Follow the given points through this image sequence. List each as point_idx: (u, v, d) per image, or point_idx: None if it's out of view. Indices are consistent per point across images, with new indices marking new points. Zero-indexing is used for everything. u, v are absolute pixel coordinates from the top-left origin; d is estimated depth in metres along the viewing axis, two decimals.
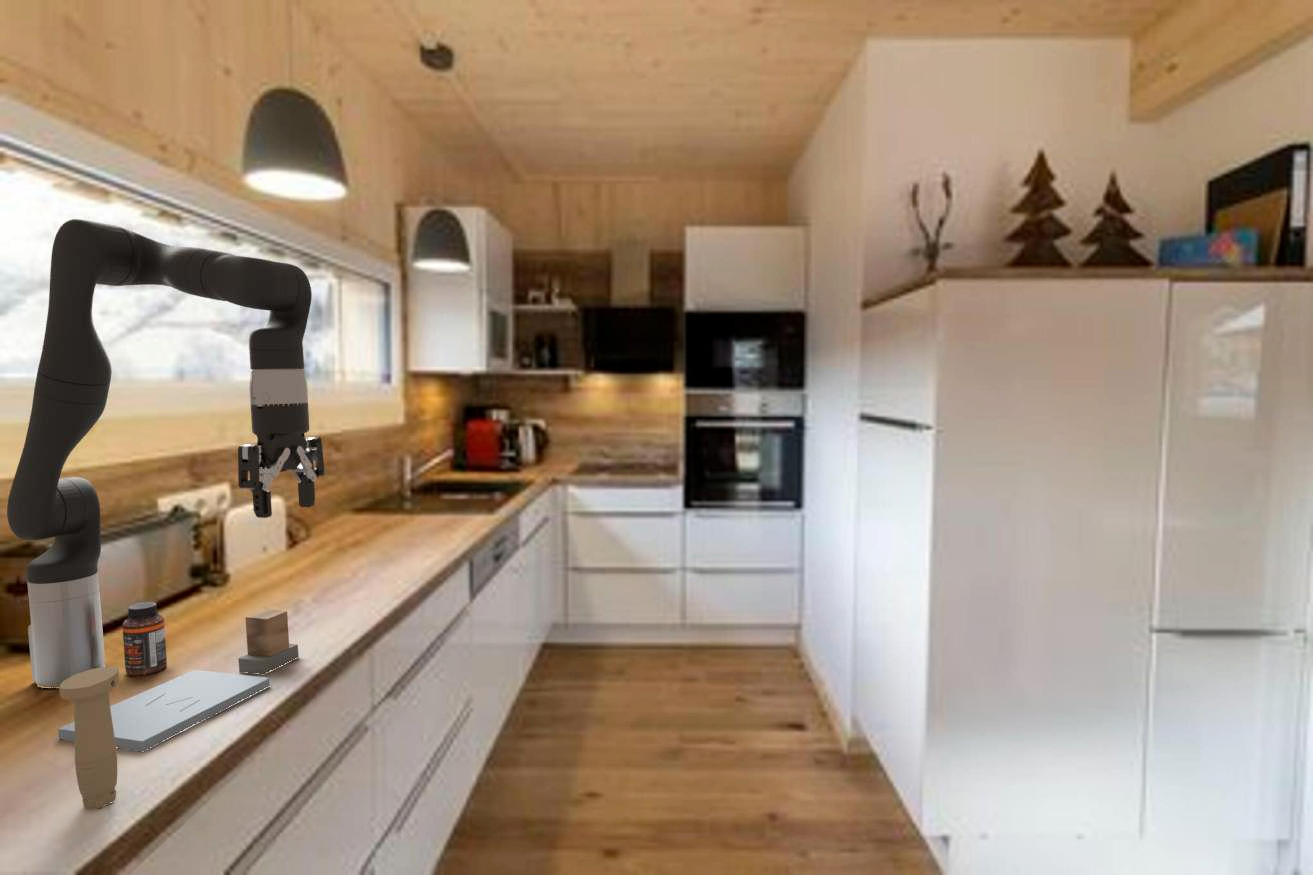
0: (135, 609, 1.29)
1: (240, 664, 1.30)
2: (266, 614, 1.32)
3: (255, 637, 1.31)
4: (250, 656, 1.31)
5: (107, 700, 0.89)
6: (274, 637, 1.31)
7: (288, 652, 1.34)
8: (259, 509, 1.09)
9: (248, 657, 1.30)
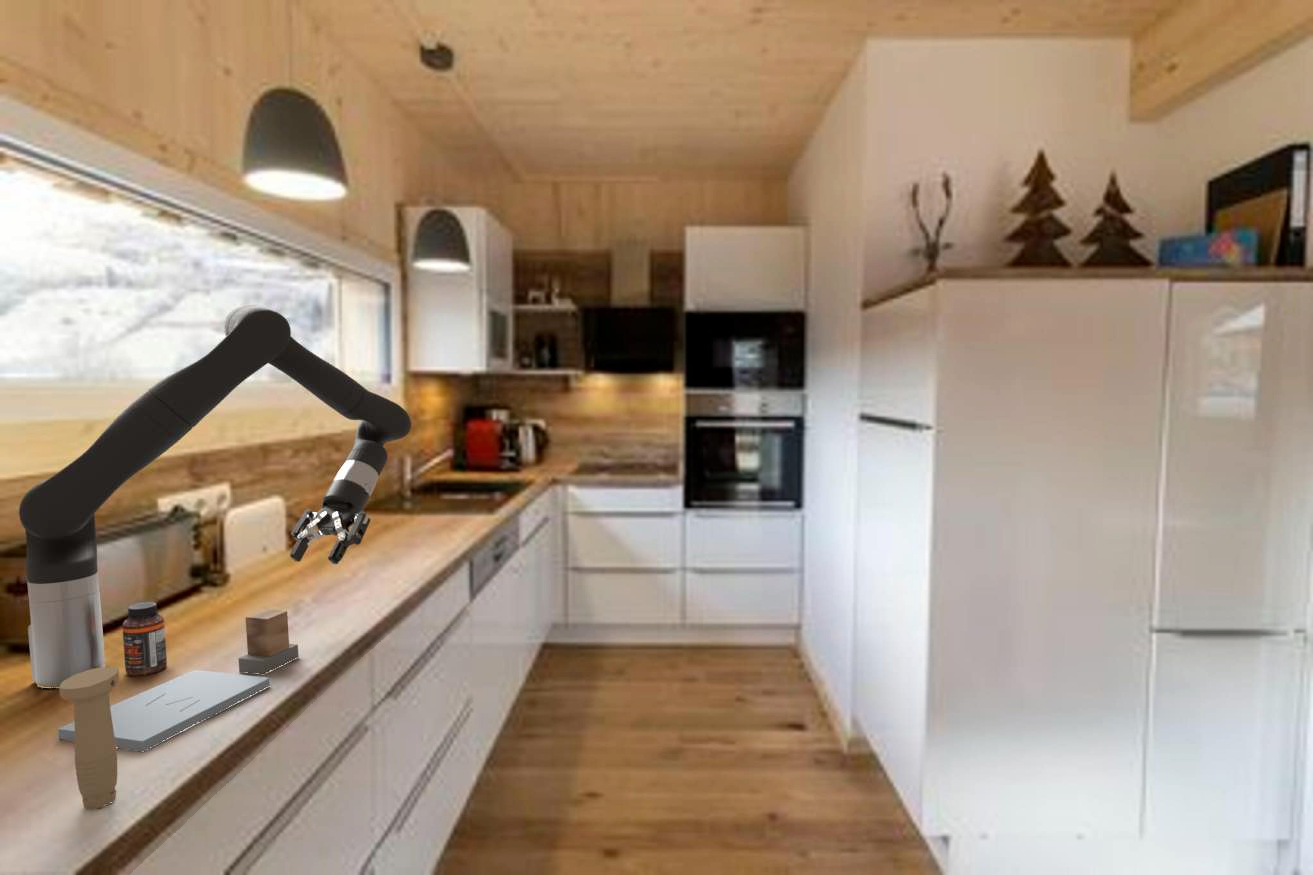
0: (135, 609, 1.29)
1: (240, 664, 1.30)
2: (267, 614, 1.32)
3: (255, 637, 1.31)
4: (250, 656, 1.31)
5: (107, 700, 0.89)
6: (274, 637, 1.31)
7: (288, 652, 1.34)
8: (340, 556, 1.42)
9: (248, 657, 1.30)
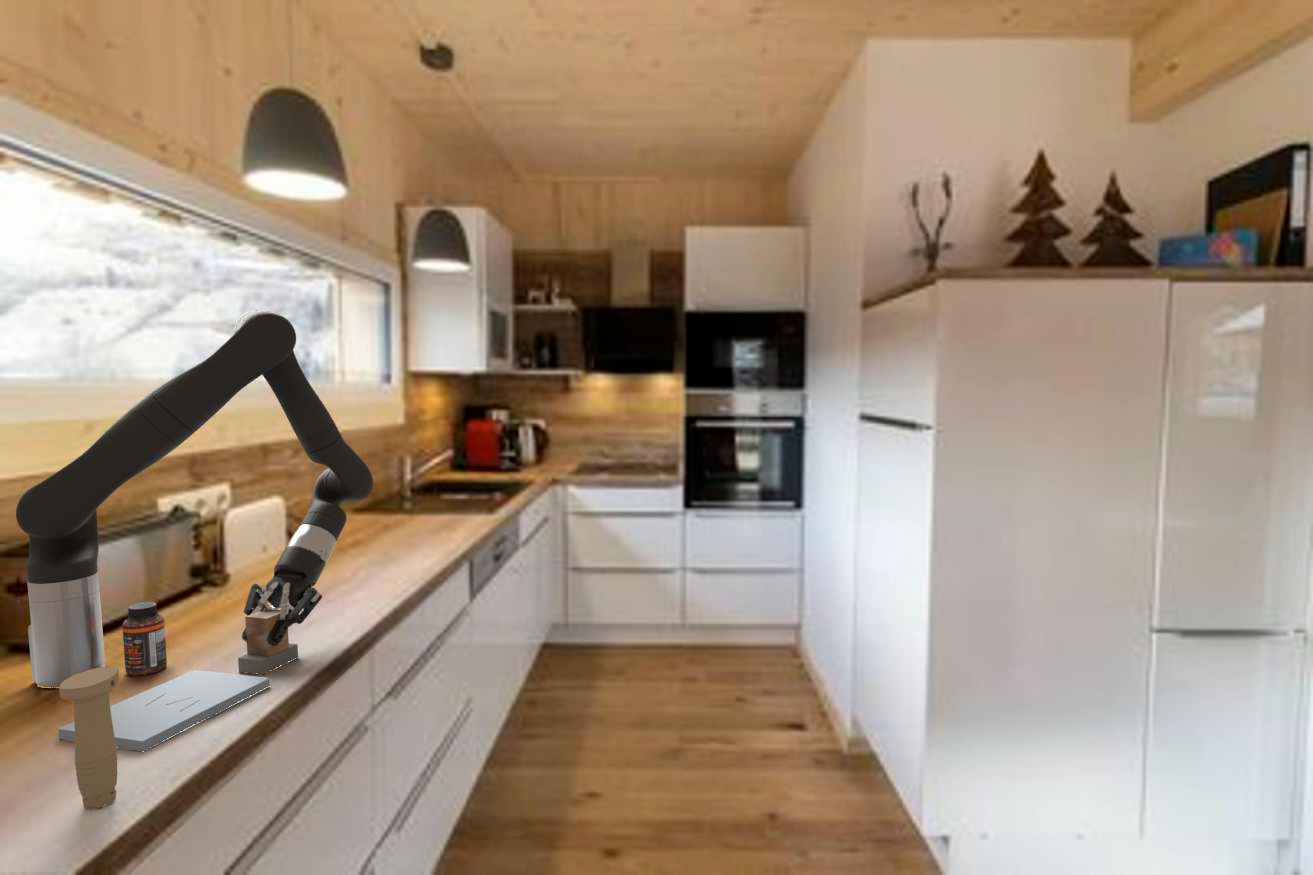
0: (135, 609, 1.29)
1: (240, 664, 1.30)
2: (266, 614, 1.32)
3: (255, 637, 1.31)
4: (249, 656, 1.30)
5: (107, 700, 0.89)
6: None
7: (288, 651, 1.34)
8: (280, 637, 1.31)
9: (248, 657, 1.30)
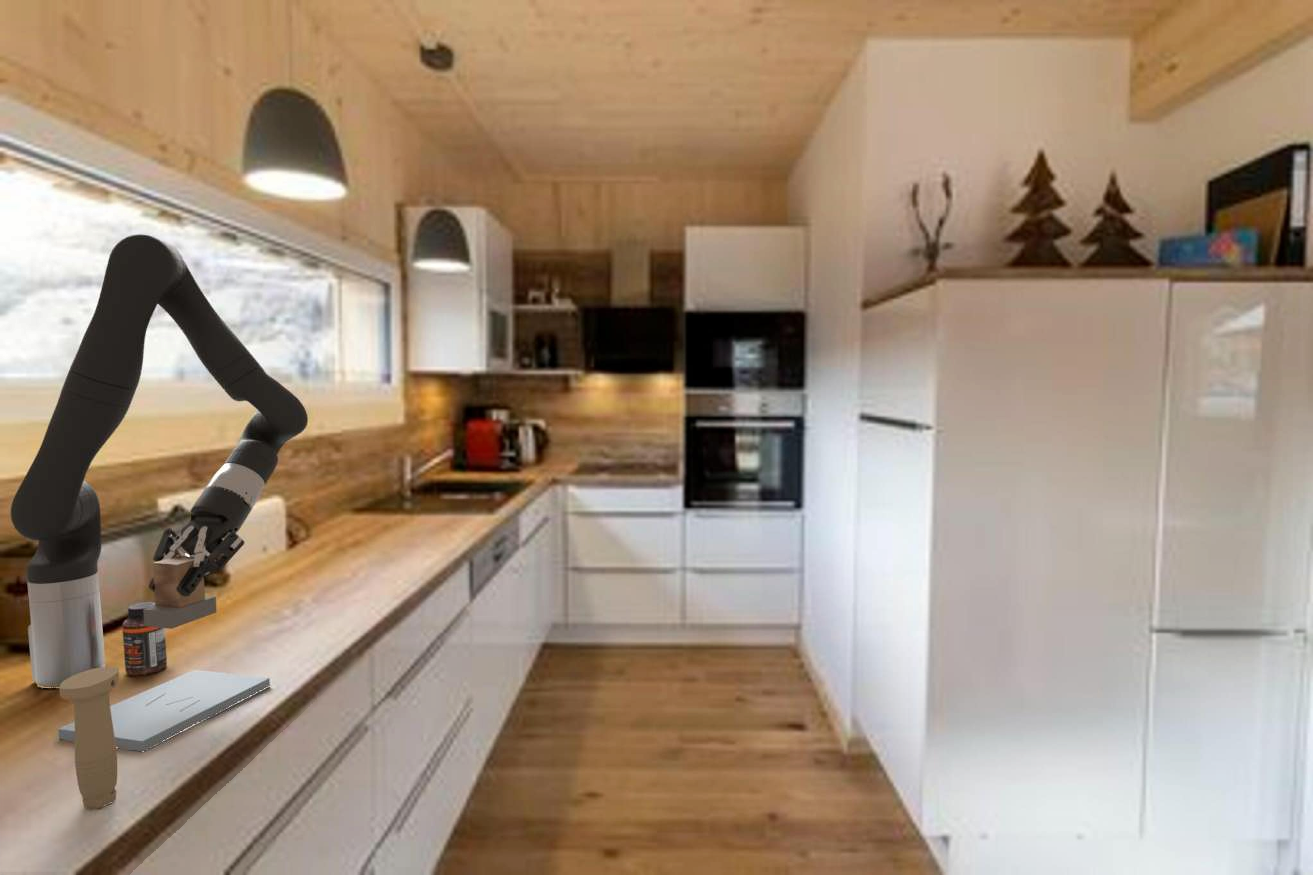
0: (135, 609, 1.29)
1: (145, 616, 1.13)
2: (178, 560, 1.16)
3: (163, 586, 1.14)
4: (157, 607, 1.14)
5: (107, 700, 0.89)
6: None
7: (203, 604, 1.18)
8: (193, 587, 1.14)
9: (155, 608, 1.14)
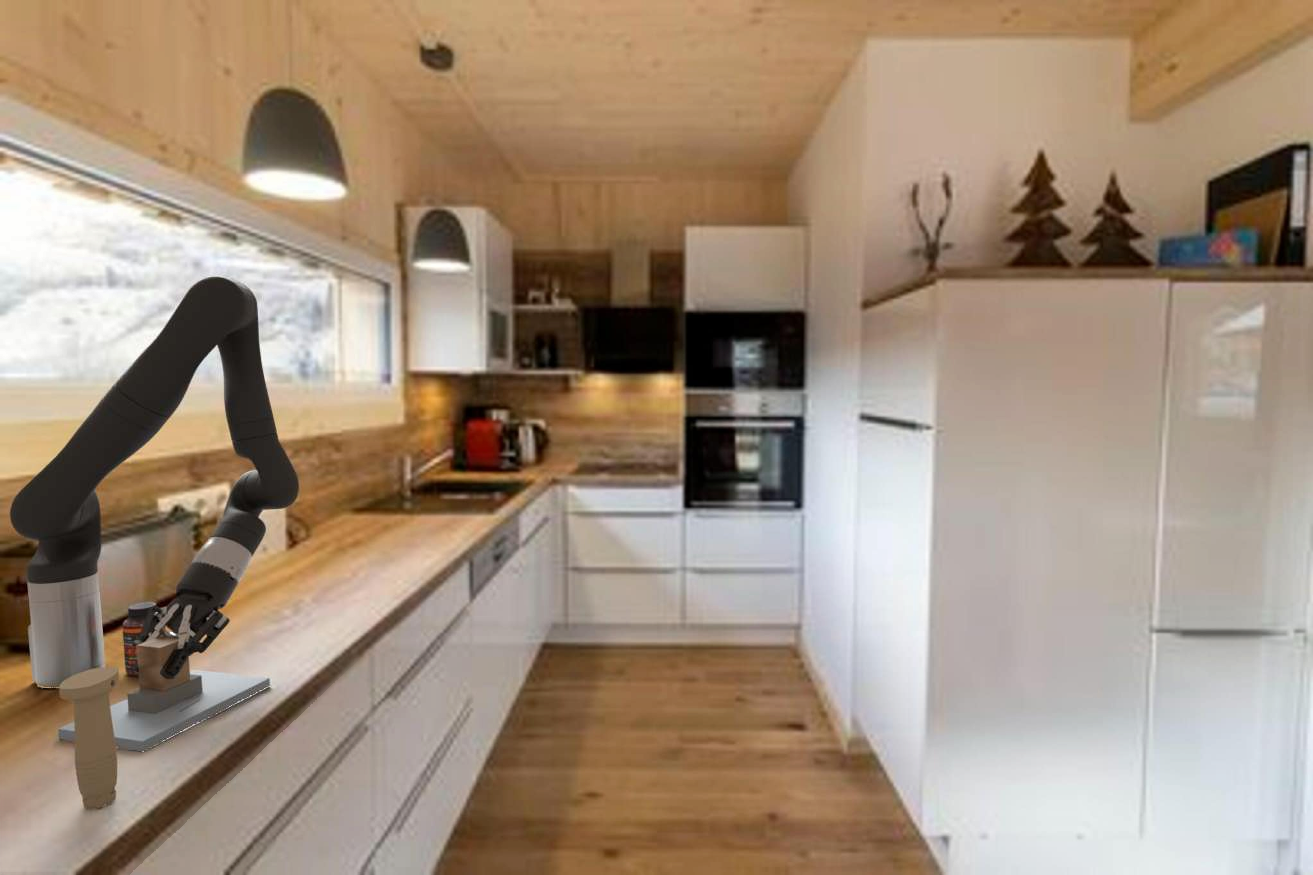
0: (135, 609, 1.29)
1: (129, 700, 1.12)
2: (162, 642, 1.14)
3: (147, 669, 1.13)
4: (141, 691, 1.12)
5: (107, 700, 0.89)
6: None
7: (188, 685, 1.16)
8: (177, 669, 1.13)
9: (139, 692, 1.12)
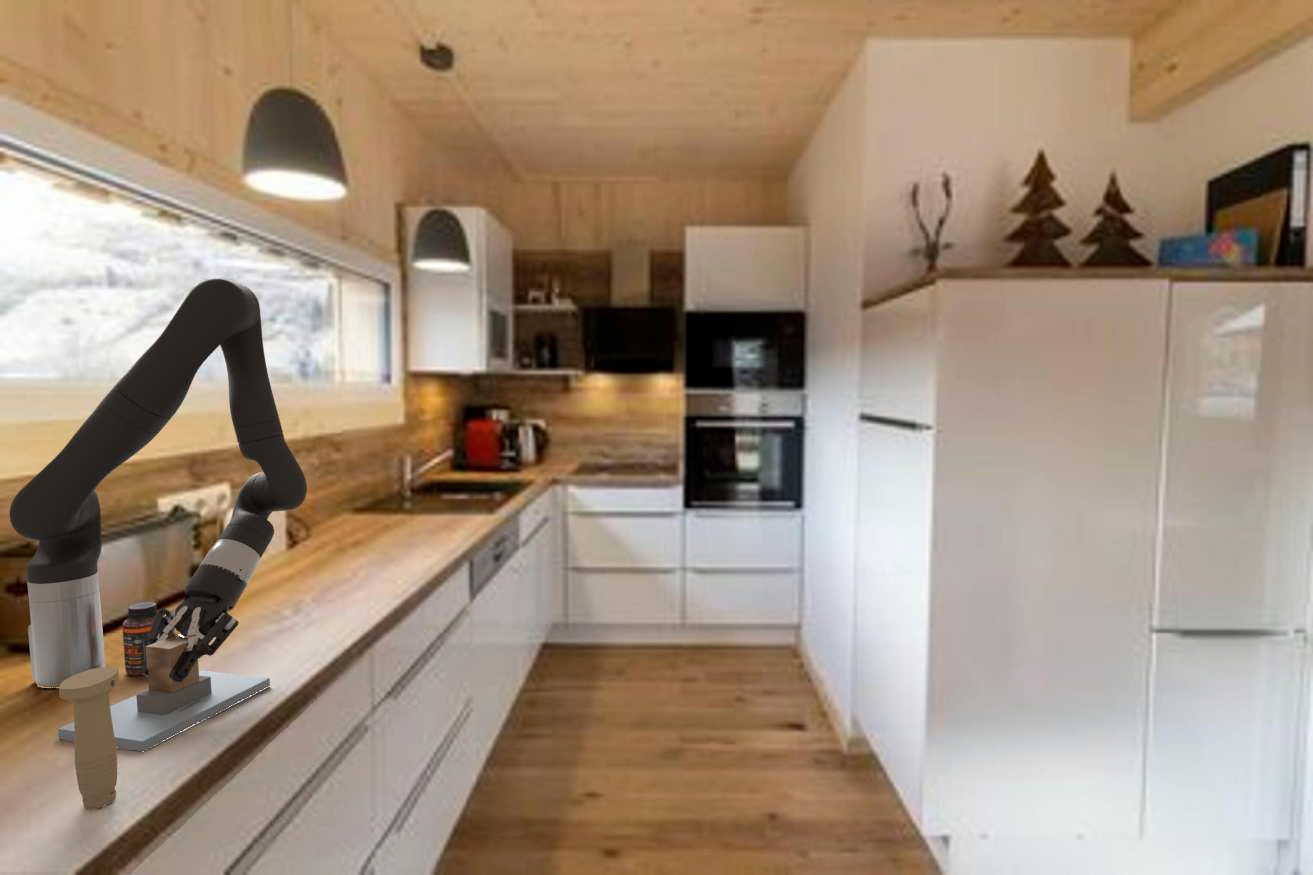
0: (135, 609, 1.29)
1: (138, 701, 1.11)
2: (171, 643, 1.14)
3: (156, 670, 1.12)
4: (150, 692, 1.12)
5: (107, 700, 0.89)
6: None
7: (197, 686, 1.15)
8: (186, 672, 1.12)
9: (148, 693, 1.12)
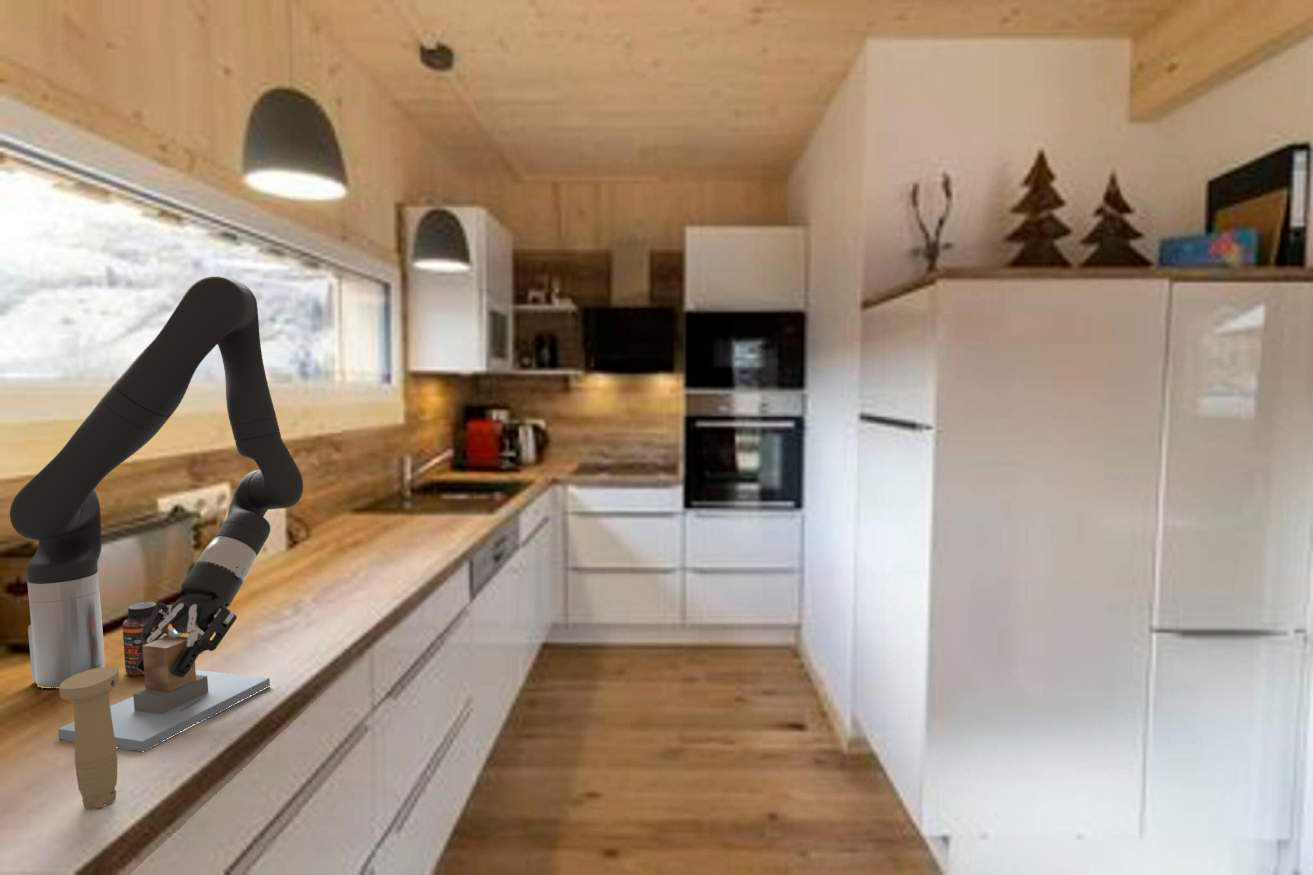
0: (135, 609, 1.29)
1: (135, 700, 1.12)
2: (168, 642, 1.14)
3: (153, 669, 1.13)
4: (147, 691, 1.12)
5: (107, 700, 0.89)
6: None
7: (194, 685, 1.16)
8: (187, 667, 1.13)
9: (145, 692, 1.12)
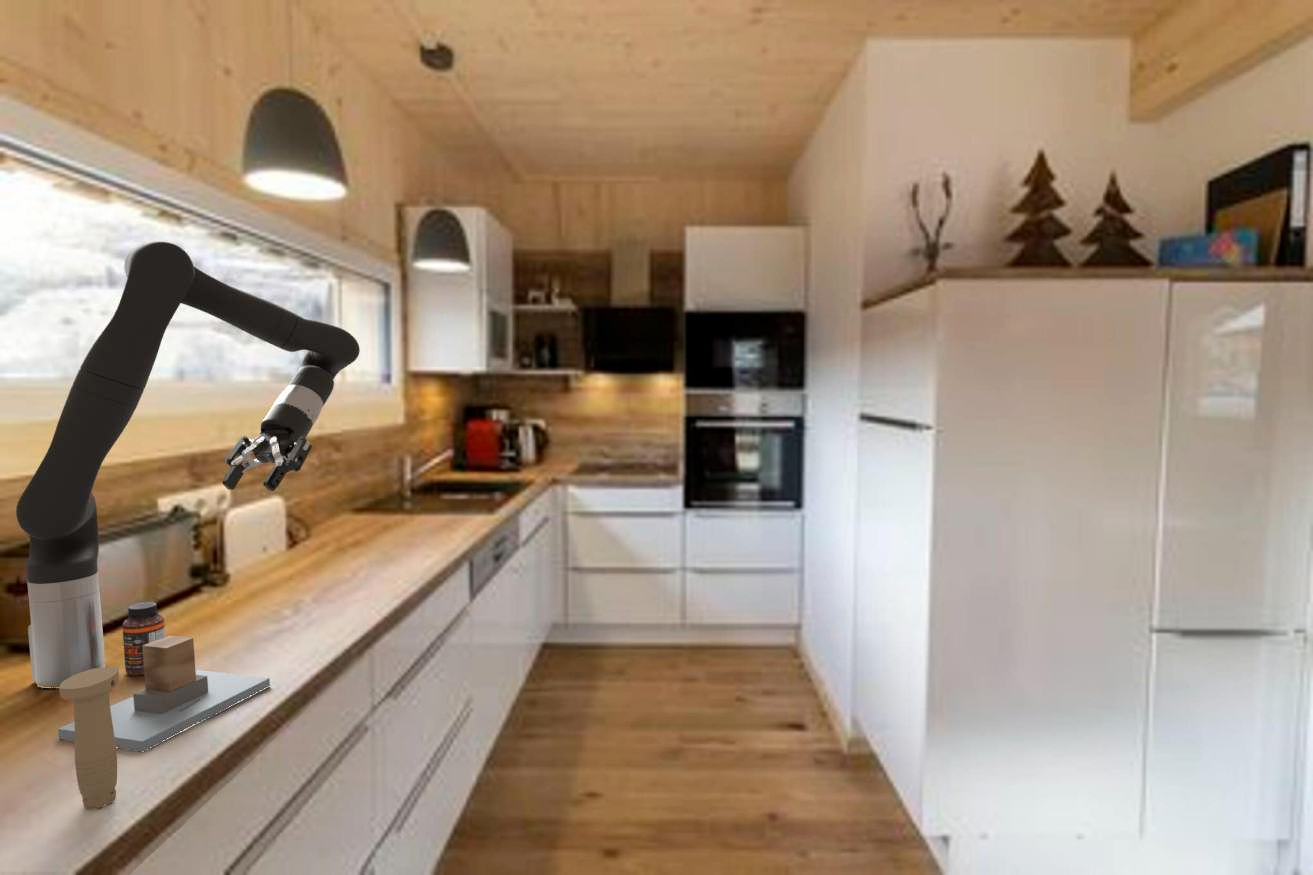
0: (135, 609, 1.29)
1: (135, 700, 1.12)
2: (168, 642, 1.14)
3: (153, 669, 1.13)
4: (147, 691, 1.12)
5: (107, 700, 0.89)
6: (176, 669, 1.13)
7: (194, 685, 1.16)
8: (277, 483, 1.30)
9: (145, 692, 1.12)
